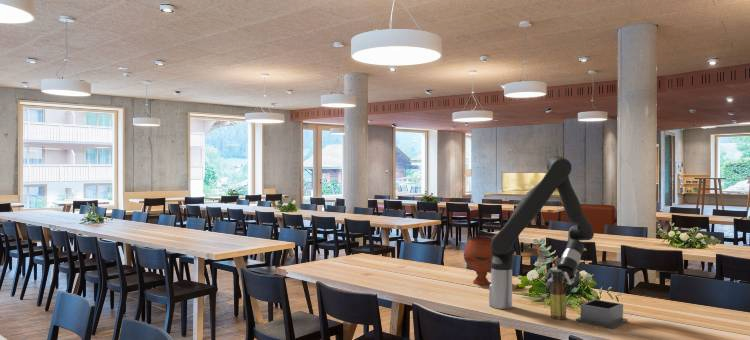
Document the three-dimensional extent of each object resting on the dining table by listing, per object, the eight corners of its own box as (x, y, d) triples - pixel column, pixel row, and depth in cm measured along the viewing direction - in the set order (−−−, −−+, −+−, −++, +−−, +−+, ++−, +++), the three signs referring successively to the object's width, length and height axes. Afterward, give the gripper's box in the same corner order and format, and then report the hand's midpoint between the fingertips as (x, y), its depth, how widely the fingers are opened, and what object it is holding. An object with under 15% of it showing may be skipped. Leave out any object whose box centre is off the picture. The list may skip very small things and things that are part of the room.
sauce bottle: (562, 316, 234) (563, 269, 234) (568, 320, 228) (568, 271, 228) (547, 316, 234) (547, 269, 234) (552, 320, 228) (553, 271, 228)
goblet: (497, 279, 311) (497, 235, 311) (501, 287, 292) (501, 239, 292) (462, 279, 313) (462, 235, 313) (464, 286, 294) (464, 239, 294)
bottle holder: (575, 321, 226) (575, 304, 226) (591, 314, 237) (591, 298, 237) (613, 328, 216) (613, 310, 216) (627, 321, 226) (627, 304, 226)
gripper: (551, 254, 242) (538, 284, 233) (582, 258, 232) (570, 289, 223) (556, 265, 245) (544, 295, 237) (588, 269, 235) (576, 300, 227)
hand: (556, 292), depth 230 cm, fingers open, 8 cm apart
